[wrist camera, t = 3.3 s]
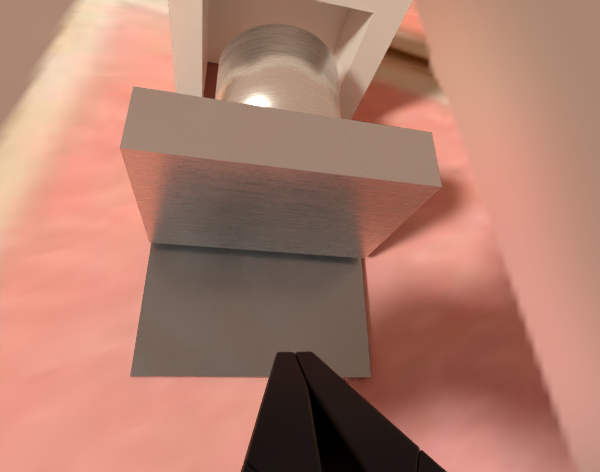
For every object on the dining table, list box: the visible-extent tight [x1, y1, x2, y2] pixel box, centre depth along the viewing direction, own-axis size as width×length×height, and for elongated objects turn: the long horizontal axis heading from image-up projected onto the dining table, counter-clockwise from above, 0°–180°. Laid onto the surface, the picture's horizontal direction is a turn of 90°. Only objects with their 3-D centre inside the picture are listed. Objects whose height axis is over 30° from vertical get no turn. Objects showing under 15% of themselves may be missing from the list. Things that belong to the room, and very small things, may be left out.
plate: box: [130, 243, 371, 378], centre depth 21 cm, size 16×11×1 cm
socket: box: [168, 0, 413, 120], centre depth 21 cm, size 5×11×10 cm, turn 91°
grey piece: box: [120, 24, 442, 258], centre depth 18 cm, size 8×11×8 cm
